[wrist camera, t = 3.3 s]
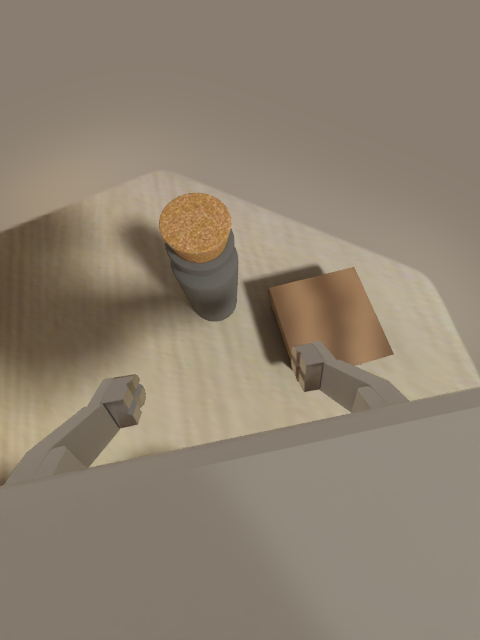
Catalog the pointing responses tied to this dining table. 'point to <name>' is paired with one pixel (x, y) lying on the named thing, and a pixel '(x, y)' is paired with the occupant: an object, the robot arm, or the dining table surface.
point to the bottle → (202, 253)
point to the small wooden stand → (330, 317)
